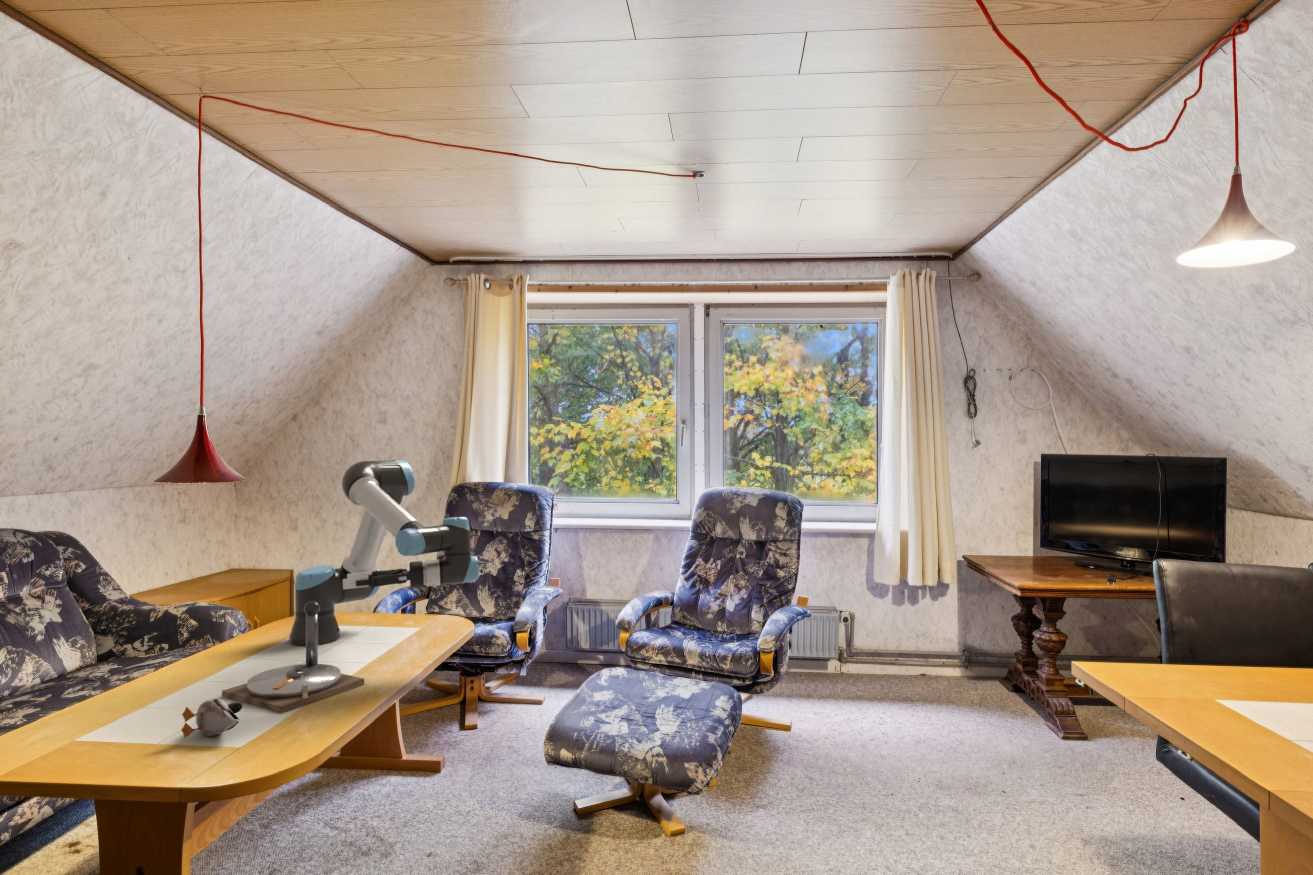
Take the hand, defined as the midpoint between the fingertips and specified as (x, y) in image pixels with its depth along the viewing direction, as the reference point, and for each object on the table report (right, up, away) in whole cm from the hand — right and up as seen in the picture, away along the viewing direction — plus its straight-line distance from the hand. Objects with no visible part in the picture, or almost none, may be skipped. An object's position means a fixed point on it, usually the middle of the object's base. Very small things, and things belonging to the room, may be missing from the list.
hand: (345, 581), depth 209 cm
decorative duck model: (-9, -26, -42) cm, 50 cm away
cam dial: (-7, -24, -14) cm, 29 cm away
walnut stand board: (-7, -26, -15) cm, 30 cm away
